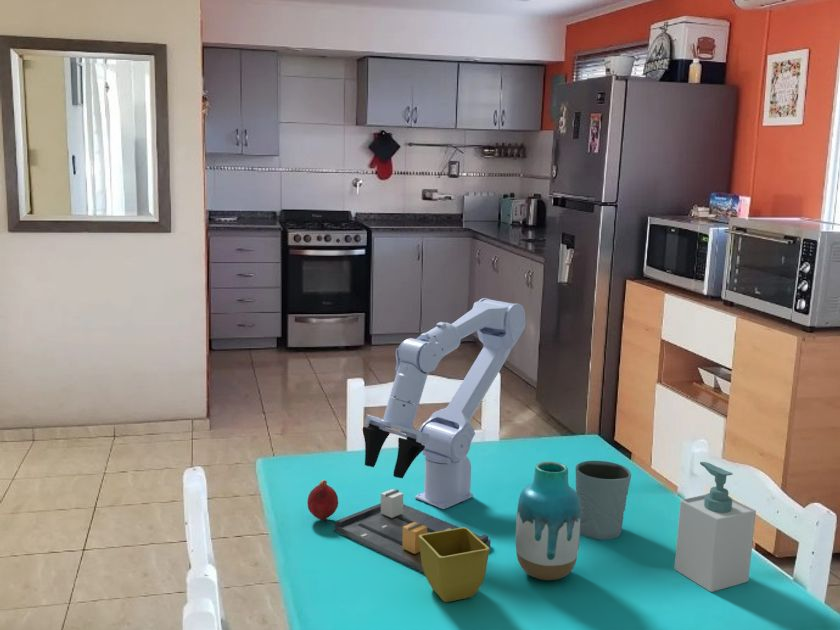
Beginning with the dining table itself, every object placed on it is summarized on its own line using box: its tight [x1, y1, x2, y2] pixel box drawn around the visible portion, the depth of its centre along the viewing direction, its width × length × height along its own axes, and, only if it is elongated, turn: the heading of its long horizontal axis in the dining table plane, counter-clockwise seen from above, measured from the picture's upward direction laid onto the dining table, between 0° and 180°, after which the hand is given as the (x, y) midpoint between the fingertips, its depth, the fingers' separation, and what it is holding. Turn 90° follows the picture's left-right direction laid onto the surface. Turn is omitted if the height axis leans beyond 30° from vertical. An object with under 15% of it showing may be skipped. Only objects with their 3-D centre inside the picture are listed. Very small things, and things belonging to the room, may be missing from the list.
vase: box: [515, 461, 581, 581], centre depth 145 cm, size 11×11×19 cm
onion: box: [307, 479, 339, 521], centre depth 164 cm, size 6×6×8 cm
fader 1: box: [380, 488, 404, 518], centre depth 165 cm, size 3×3×4 cm
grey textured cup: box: [575, 460, 632, 541], centre depth 163 cm, size 10×10×12 cm
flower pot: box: [419, 526, 490, 603], centre depth 139 cm, size 9×9×9 cm
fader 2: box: [402, 522, 427, 554], centre depth 151 cm, size 3×3×4 cm
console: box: [333, 502, 491, 575], centre depth 158 cm, size 16×24×2 cm, turn 47°
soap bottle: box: [673, 461, 757, 593], centre depth 146 cm, size 9×9×19 cm
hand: (383, 471), depth 162 cm, fingers open, 7 cm apart
